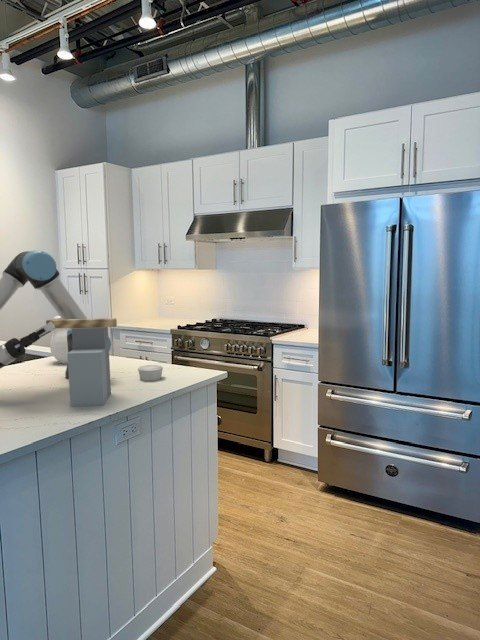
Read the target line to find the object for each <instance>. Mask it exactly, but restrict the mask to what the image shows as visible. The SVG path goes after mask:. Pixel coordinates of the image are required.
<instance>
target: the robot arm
mask: <svg viewBox="0 0 480 640" xmlns="http://www.w3.org/2000/svg"><path fill="white" fill-rule="evenodd" d="M60 277H61V273H60V272H59V270H58V269H57V263H56V261H55V258H54V257H53V256H52V255H51V254H50V253H48V252H46V251H44V250H37V249H36V250H35V249H34V250H31V251H30V250H29V251H28V250H27V251H22V252H19V253H18V254H17V255H16V256H15V257H13V259H12V260H11V261H10V262H9V264H8V265H7V267H6V268H5V269H4V270H3V271H2V277H1V278H0V311H1V310H2V309H3V308H4V307H5V305H6V304H7V303H8V302H9V301H10V299H11V298H12V297H13V295H14V294H16V292H17V291H18V289H19V288H23V287H24V286H25V285H26V284H27V283H28V282H29V283H30V284H31V286H32V287H33V288H34V289H35V290H38V291H40V292H41V293H42V294H43V295H44V297H45V298H46V299H47V301H48V303H50V305H51V306H52V307H53V309H54V310H55V311H56V313H57V314H58V316H60V317H61V318H59V319H58V320H64V319H88V317H87V316H86V314H85V313H84V312H83V310H82V309H81V308H80V306H79V305H78V303H77V302H76V300H75V299H74V298H73V297H72V295H71V294H70V292H69V291H68V289H67V288H66V287H65V286H64V284H63V283H62V282H63V281H61V280H60ZM54 329H57V328H55V327H54V325H53V324H52V322H49V323H48V324H46V323H45V324H44V325H43V326H41V327H39V328H38V329H36V330H35V331H32V332H30V333H29V334H28V335H25V336H23V337H21V338H19V339H18V338H16V337H13V338H11V339H9V340H8V341H6V342H5V343H3V344H1V345H0V370H1V369H2V368H4V367H6V366H8V365H9V364H11V363H13V362H15V361H16V360H17V359H19V358H21V357H23V356H24V355H26V349H27V348H29V347H30V346H32V345H33V344H35V342H38V340H40V339H41V338H42V337H44V336H45V335H47V334H49V333H51V332H54ZM108 340H109V352H110V351H111V347H112V341H111V338H110V337H109V336H108ZM67 344H68V353H69V352H70V351H71V350H73V342H72V328H69V329H68V331H67ZM64 373H65V374H64V375H65V378H66V379H68V380H69V373H68V364H66V369H65V372H64Z"/></svg>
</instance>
